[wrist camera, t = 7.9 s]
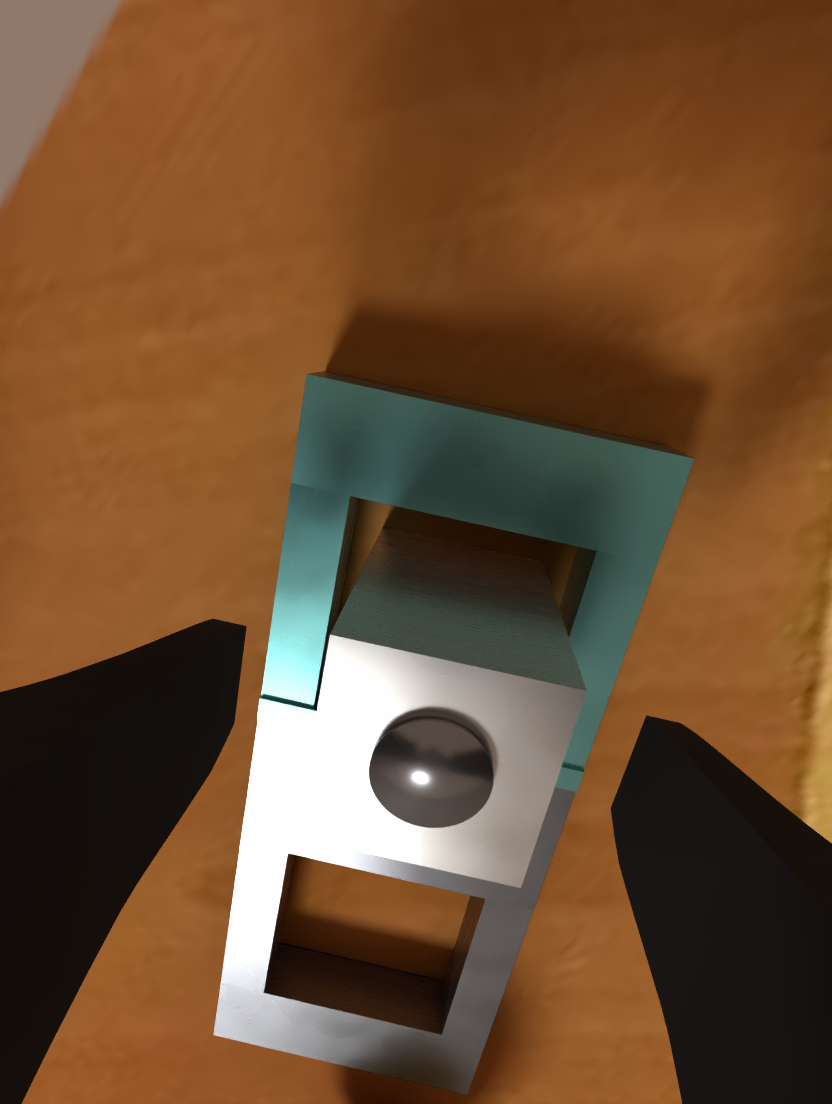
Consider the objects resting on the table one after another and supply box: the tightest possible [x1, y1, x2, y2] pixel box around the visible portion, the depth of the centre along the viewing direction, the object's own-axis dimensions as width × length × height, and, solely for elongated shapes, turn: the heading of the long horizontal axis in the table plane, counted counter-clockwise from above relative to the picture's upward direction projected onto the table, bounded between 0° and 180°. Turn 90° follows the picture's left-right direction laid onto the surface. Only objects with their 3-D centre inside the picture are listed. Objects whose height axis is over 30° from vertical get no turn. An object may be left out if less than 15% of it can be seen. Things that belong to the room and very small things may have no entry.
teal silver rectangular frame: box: [214, 371, 694, 1095], centre depth 16 cm, size 8×20×2 cm, turn 168°
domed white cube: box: [296, 527, 587, 888], centre depth 13 cm, size 4×4×6 cm
